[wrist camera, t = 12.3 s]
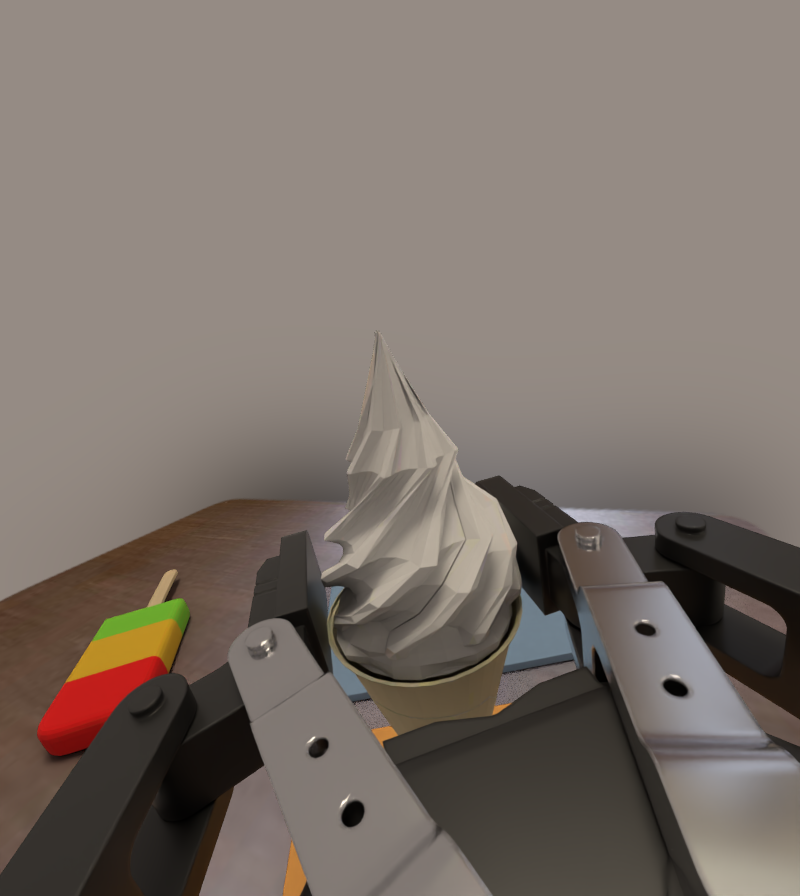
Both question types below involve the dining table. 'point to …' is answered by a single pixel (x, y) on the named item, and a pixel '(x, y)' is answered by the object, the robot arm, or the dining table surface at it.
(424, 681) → the ice cream cone
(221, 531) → the dining table surface
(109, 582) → the dining table surface
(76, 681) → the popsicle
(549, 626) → the slate pad
